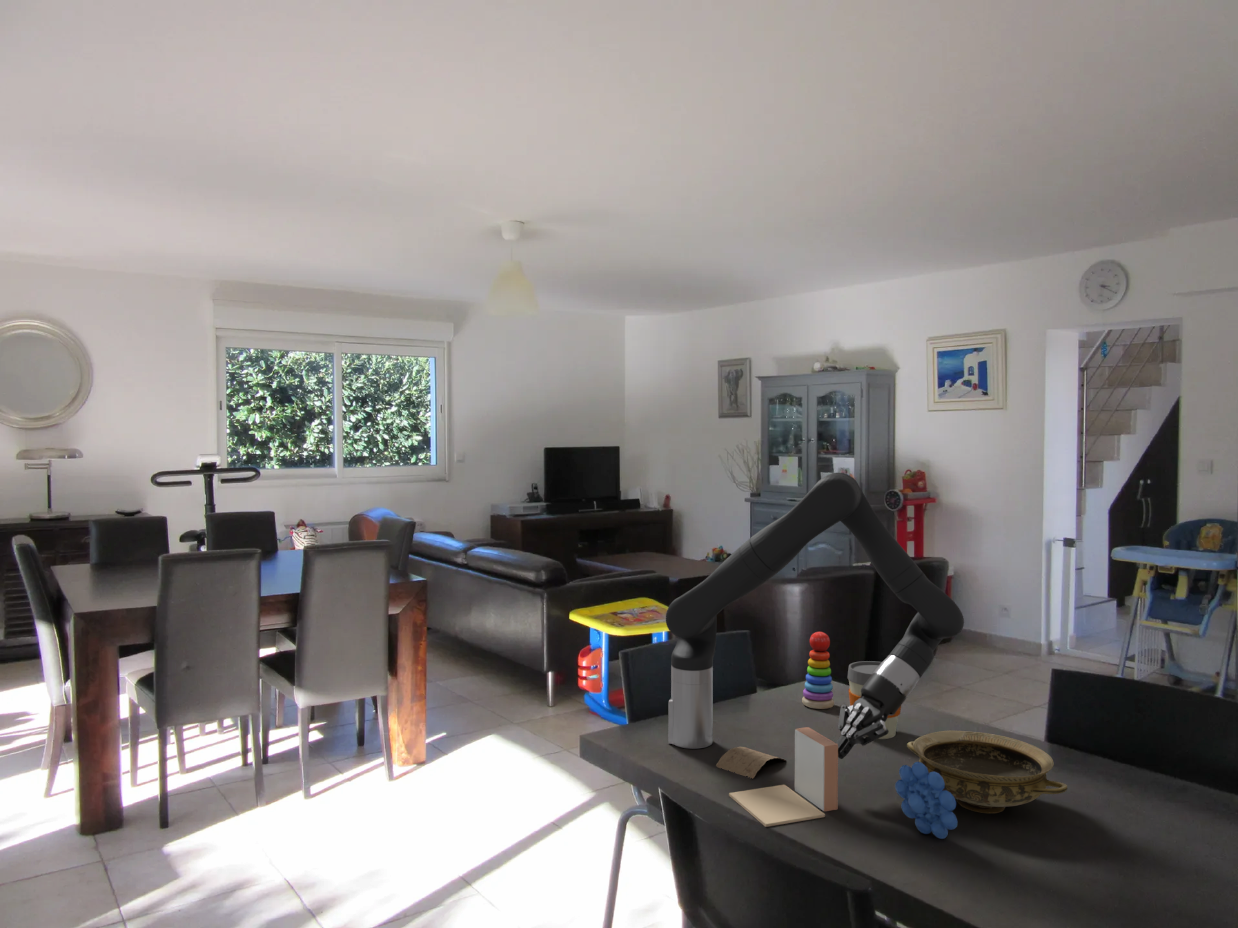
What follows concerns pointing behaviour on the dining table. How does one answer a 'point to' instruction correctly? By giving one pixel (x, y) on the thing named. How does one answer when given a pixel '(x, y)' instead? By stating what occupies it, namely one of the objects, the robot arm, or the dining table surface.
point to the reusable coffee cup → (857, 679)
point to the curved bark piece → (744, 761)
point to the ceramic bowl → (986, 768)
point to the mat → (776, 805)
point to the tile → (816, 768)
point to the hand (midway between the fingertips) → (836, 755)
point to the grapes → (926, 800)
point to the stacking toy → (818, 674)
